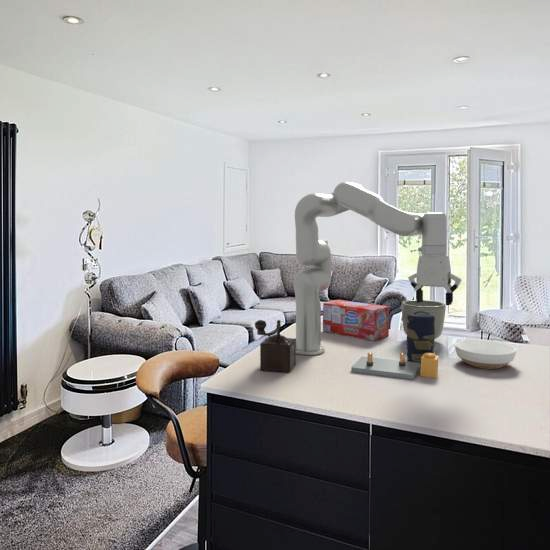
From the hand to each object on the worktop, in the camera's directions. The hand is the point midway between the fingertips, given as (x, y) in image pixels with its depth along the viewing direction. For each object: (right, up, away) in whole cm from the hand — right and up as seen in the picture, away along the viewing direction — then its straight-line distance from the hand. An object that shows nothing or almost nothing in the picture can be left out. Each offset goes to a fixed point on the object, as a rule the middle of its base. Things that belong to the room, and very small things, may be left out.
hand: (434, 303), depth 157 cm
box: (-16, -17, +56) cm, 61 cm away
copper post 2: (-9, -23, +5) cm, 25 cm away
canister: (0, -22, +15) cm, 26 cm away
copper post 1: (-20, -23, +6) cm, 30 cm away
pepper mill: (-52, -23, +6) cm, 57 cm away
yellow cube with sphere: (-2, -23, -1) cm, 23 cm away
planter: (+9, -18, +43) cm, 47 cm away
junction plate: (-14, -23, +5) cm, 27 cm away
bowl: (+21, -22, +11) cm, 32 cm away
